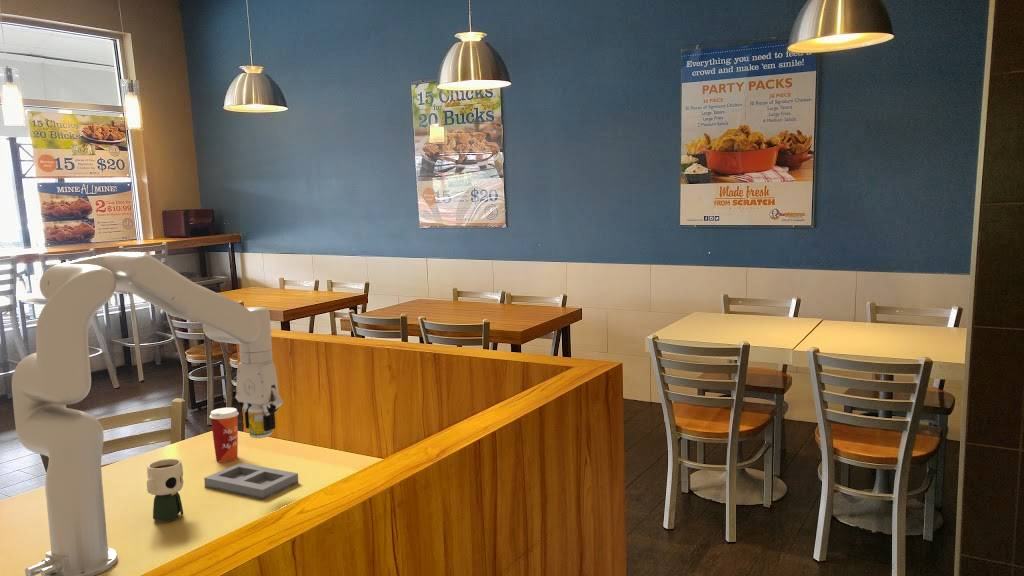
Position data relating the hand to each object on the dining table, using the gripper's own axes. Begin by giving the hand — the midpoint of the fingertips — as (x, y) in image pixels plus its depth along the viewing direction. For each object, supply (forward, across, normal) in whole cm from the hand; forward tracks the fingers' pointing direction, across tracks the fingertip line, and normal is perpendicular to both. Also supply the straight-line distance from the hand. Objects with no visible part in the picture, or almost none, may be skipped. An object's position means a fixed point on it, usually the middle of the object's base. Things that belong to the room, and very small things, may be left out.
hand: (260, 427), depth 181 cm
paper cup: (+16, -26, +12) cm, 33 cm away
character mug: (+16, -6, -23) cm, 28 cm away
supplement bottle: (+2, 0, 0) cm, 2 cm away
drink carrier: (+16, -4, 0) cm, 16 cm away
